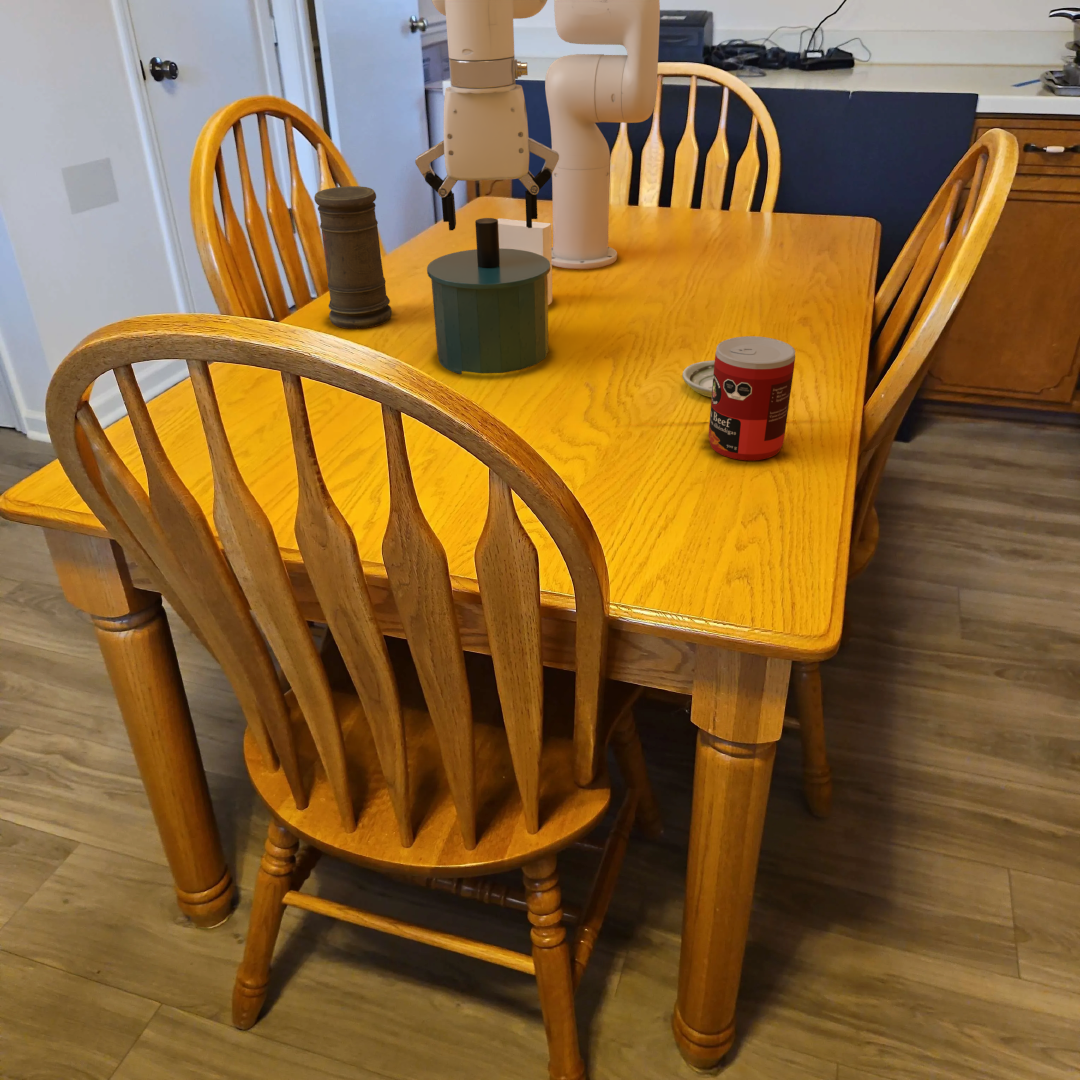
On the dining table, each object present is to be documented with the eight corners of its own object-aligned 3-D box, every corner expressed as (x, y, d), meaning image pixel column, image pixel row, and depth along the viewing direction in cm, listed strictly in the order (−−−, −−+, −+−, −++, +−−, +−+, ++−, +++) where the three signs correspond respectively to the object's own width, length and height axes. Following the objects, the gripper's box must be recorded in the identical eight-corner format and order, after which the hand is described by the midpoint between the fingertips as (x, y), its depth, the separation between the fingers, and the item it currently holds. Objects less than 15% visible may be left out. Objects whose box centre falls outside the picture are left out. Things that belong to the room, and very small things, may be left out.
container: (401, 311, 139) (389, 186, 130) (373, 332, 132) (358, 201, 122) (349, 306, 142) (332, 183, 132) (318, 326, 135) (299, 197, 125)
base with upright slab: (561, 298, 143) (561, 218, 137) (537, 316, 136) (535, 233, 130) (509, 291, 146) (506, 213, 140) (483, 309, 140) (478, 227, 133)
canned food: (700, 432, 103) (708, 337, 97) (770, 428, 104) (782, 333, 98) (717, 464, 97) (726, 365, 91) (792, 460, 97) (806, 360, 91)
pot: (441, 337, 130) (435, 255, 124) (547, 335, 130) (546, 252, 124) (433, 378, 117) (425, 289, 111) (550, 375, 118) (548, 286, 111)
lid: (432, 258, 124) (428, 207, 121) (549, 255, 124) (548, 204, 121) (422, 295, 111) (417, 238, 108) (552, 292, 111) (551, 235, 108)
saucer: (744, 416, 106) (746, 396, 105) (667, 399, 111) (669, 380, 109) (774, 387, 113) (776, 368, 112) (700, 372, 118) (702, 354, 116)
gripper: (556, 68, 110) (558, 216, 119) (410, 72, 110) (424, 220, 119) (558, 77, 103) (560, 232, 113) (404, 82, 103) (419, 237, 113)
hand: (490, 226), depth 116 cm, fingers open, 9 cm apart
